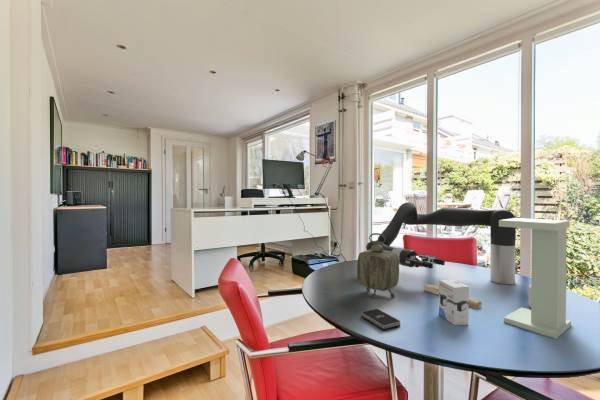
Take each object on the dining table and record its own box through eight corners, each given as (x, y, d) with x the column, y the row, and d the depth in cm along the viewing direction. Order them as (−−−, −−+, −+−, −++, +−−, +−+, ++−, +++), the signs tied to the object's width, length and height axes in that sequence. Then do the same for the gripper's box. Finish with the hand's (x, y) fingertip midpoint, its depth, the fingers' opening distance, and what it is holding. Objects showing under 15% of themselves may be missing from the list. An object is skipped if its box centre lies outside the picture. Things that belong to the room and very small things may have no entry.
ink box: (438, 314, 95) (438, 279, 94) (452, 313, 95) (452, 278, 95) (454, 325, 86) (454, 287, 86) (469, 325, 86) (469, 286, 86)
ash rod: (428, 289, 120) (428, 283, 120) (481, 308, 100) (481, 301, 100) (424, 290, 119) (424, 284, 118) (476, 309, 99) (476, 302, 99)
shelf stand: (516, 310, 97) (516, 217, 97) (571, 325, 86) (572, 220, 85) (498, 320, 89) (498, 220, 89) (555, 338, 78) (556, 223, 77)
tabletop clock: (399, 297, 110) (399, 233, 110) (388, 304, 103) (388, 236, 103) (366, 289, 120) (366, 230, 119) (354, 294, 113) (354, 232, 113)
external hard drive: (377, 314, 95) (377, 308, 95) (401, 328, 85) (401, 321, 85) (360, 318, 92) (360, 312, 92) (383, 332, 82) (383, 326, 82)
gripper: (413, 263, 130) (448, 270, 117) (393, 267, 122) (428, 276, 109) (413, 247, 130) (448, 252, 117) (393, 250, 122) (428, 257, 109)
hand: (438, 264), depth 113 cm, fingers open, 8 cm apart
